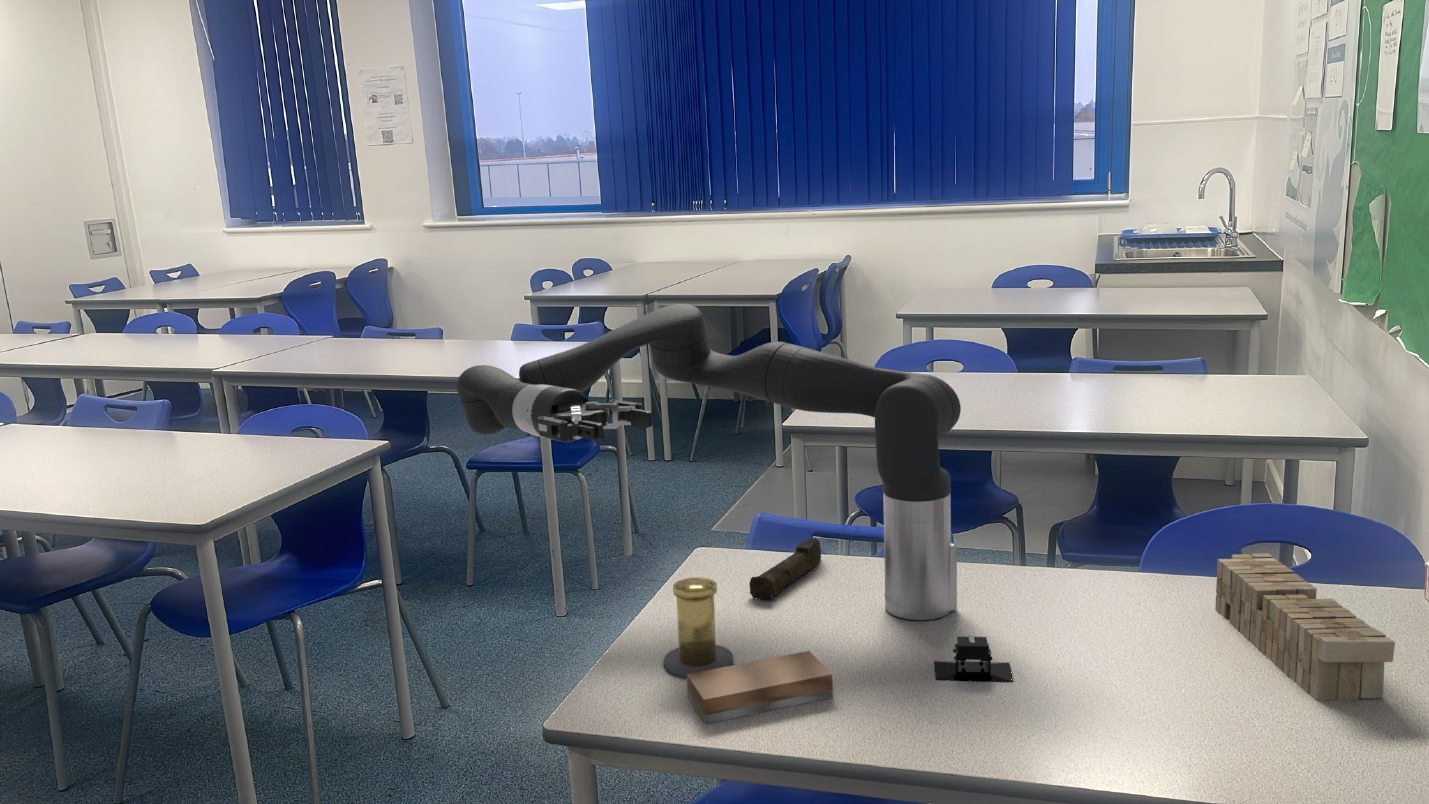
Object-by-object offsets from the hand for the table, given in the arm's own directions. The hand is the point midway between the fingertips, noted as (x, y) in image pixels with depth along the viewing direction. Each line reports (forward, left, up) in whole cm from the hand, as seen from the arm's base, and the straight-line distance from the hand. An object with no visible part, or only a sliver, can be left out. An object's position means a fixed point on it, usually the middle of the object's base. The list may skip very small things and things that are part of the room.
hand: (626, 426), depth 140 cm
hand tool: (-27, -12, -30) cm, 42 cm away
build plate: (-36, +26, -31) cm, 54 cm away
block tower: (-75, +37, -30) cm, 89 cm away
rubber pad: (-5, +10, -30) cm, 32 cm away
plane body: (-9, +22, -30) cm, 38 cm away
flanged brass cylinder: (-5, +10, -29) cm, 32 cm away
